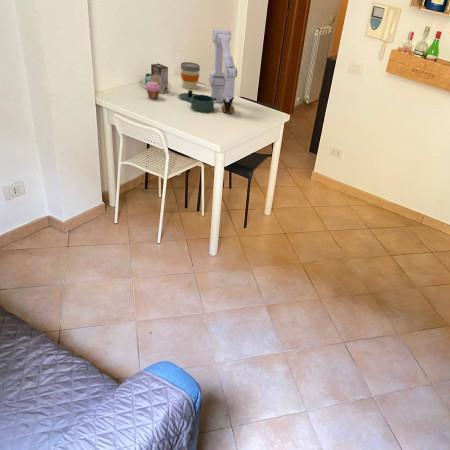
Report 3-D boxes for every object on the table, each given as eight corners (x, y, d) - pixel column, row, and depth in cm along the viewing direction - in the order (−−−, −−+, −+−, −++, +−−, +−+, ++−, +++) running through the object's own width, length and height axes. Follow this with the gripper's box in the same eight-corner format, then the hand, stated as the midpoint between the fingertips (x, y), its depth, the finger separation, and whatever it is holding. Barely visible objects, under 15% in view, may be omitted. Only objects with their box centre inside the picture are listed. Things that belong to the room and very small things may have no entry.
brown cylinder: (234, 112, 269) (235, 105, 266) (233, 114, 265) (234, 107, 262) (221, 110, 268) (222, 103, 265) (220, 112, 264) (220, 105, 262)
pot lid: (174, 95, 276) (174, 88, 274) (193, 93, 286) (193, 86, 283) (186, 102, 269) (187, 95, 266) (205, 100, 278) (206, 93, 276)
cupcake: (153, 101, 262) (152, 84, 256) (142, 97, 265) (142, 80, 259) (163, 98, 268) (163, 82, 263) (153, 94, 271) (153, 78, 266)
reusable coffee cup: (190, 91, 289) (190, 68, 281) (176, 85, 294) (176, 63, 286) (203, 88, 299) (203, 66, 291) (189, 83, 304) (190, 61, 296)
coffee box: (150, 89, 279) (150, 64, 270) (158, 88, 284) (158, 63, 275) (161, 93, 275) (160, 68, 267) (168, 92, 280) (168, 66, 272)
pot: (183, 106, 262) (183, 96, 259) (208, 103, 274) (208, 93, 271) (195, 114, 255) (196, 103, 252) (221, 110, 267) (221, 100, 264)
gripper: (224, 83, 264) (222, 105, 271) (221, 90, 252) (219, 112, 259) (235, 85, 265) (234, 107, 272) (233, 92, 252) (231, 114, 260)
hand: (227, 110), depth 265 cm, fingers open, 5 cm apart
